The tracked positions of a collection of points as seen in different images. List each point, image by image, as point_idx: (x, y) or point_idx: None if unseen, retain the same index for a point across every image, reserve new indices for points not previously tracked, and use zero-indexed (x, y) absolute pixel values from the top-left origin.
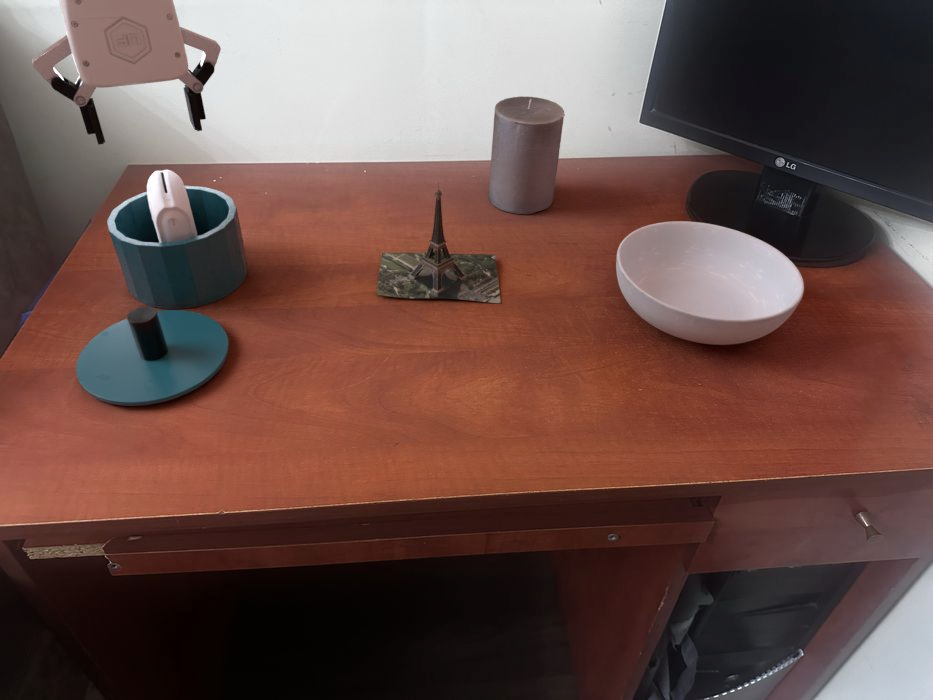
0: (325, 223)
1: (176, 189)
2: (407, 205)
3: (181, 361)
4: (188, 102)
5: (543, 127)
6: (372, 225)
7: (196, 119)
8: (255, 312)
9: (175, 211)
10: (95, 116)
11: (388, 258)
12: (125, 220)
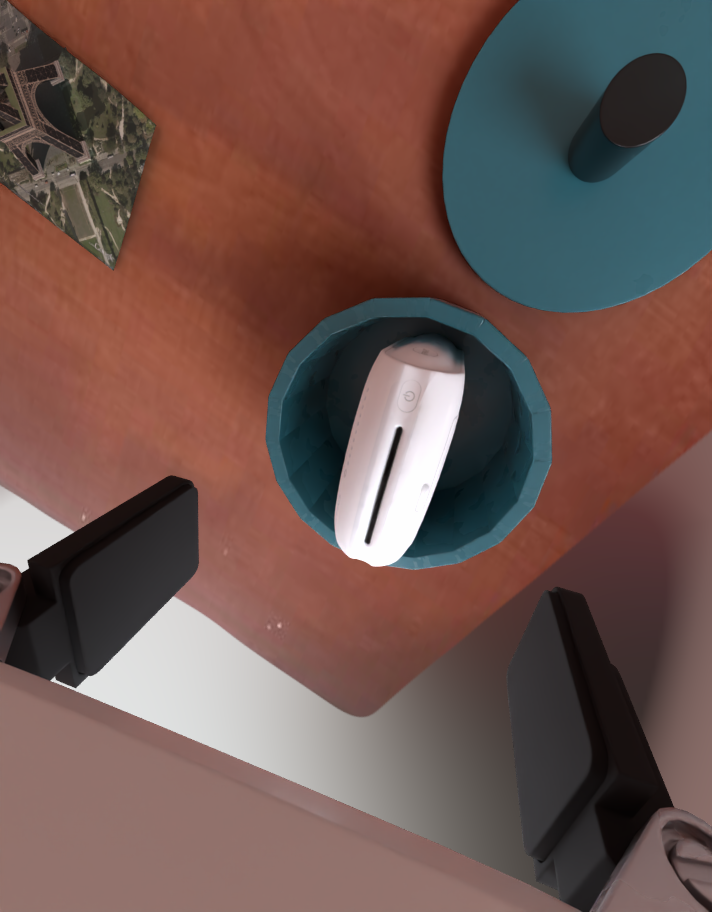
0: (172, 420)
1: (369, 431)
2: (49, 392)
3: (570, 75)
4: (116, 576)
5: None
6: (109, 370)
7: (152, 498)
8: (364, 218)
9: (408, 361)
10: (595, 703)
11: (107, 242)
12: (479, 521)
